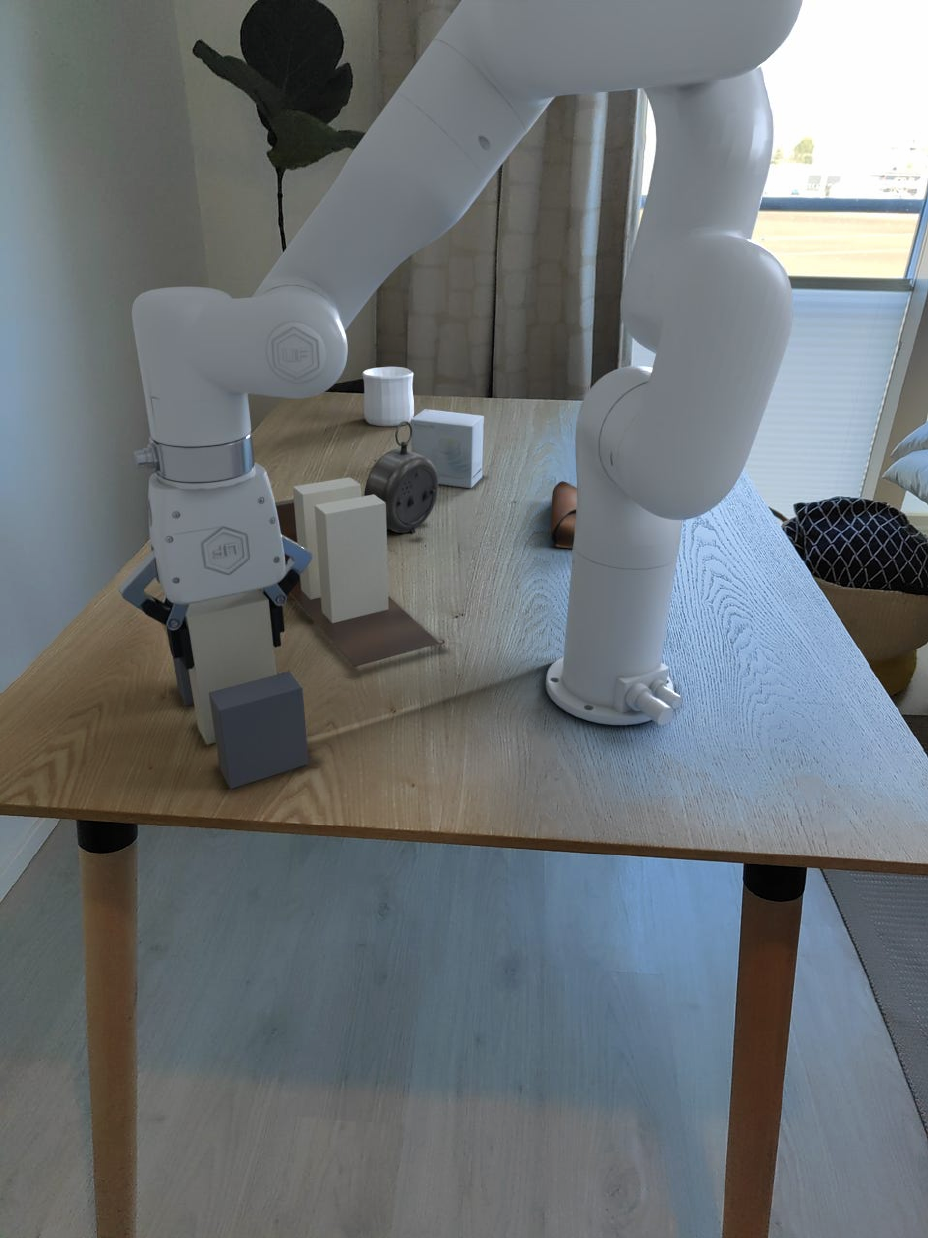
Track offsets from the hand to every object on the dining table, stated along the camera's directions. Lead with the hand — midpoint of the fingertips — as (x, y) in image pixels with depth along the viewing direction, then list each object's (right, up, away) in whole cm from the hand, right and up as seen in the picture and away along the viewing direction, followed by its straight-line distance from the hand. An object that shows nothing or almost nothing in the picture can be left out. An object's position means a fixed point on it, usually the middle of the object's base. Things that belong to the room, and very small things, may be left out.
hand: (229, 649), depth 76 cm
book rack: (+7, +4, +25) cm, 26 cm away
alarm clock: (+12, +14, +44) cm, 48 cm away
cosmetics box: (+18, +26, +66) cm, 73 cm away
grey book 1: (-4, -4, +9) cm, 11 cm away
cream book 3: (+8, +4, +22) cm, 24 cm away
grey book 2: (+3, -10, -1) cm, 11 cm away
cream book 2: (+5, +6, +27) cm, 28 cm away
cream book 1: (0, -7, +4) cm, 8 cm away
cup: (+6, +42, +96) cm, 105 cm away
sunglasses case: (+37, +16, +49) cm, 64 cm away
